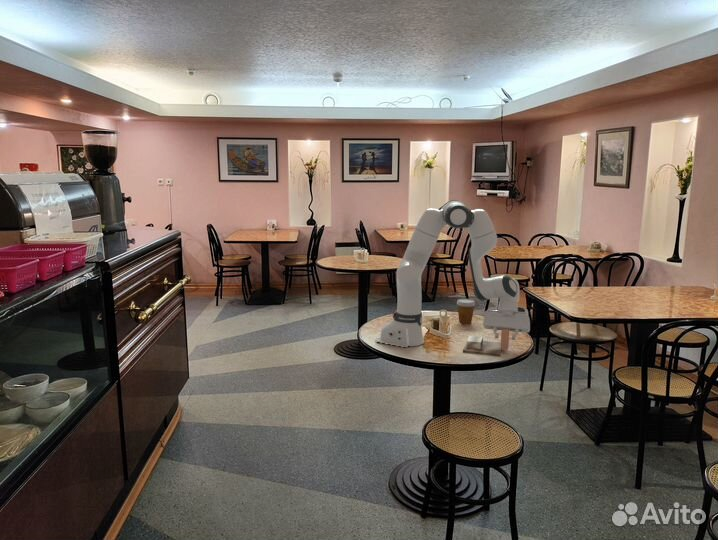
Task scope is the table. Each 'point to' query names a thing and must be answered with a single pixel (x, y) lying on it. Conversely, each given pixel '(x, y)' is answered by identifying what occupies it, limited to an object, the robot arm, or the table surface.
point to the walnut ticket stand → (482, 346)
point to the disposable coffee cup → (465, 310)
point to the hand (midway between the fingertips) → (505, 338)
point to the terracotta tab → (504, 339)
